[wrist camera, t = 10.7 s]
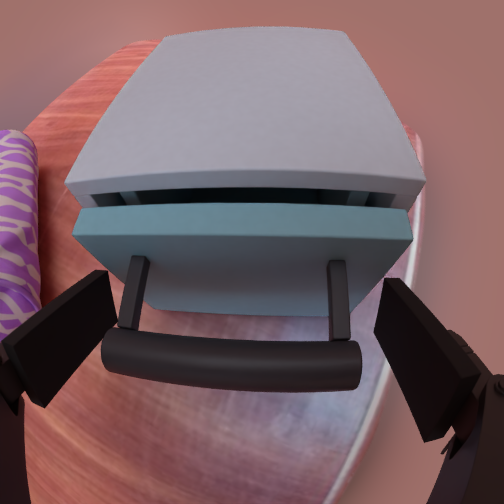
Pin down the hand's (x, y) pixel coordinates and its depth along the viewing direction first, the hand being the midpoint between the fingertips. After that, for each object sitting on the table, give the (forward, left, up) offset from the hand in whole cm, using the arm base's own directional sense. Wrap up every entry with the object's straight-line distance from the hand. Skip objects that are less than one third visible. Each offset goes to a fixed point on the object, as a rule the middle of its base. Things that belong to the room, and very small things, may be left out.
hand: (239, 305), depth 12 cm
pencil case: (+21, -11, -5) cm, 24 cm away
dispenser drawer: (-1, -5, -4) cm, 7 cm away
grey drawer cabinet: (-2, -10, -5) cm, 11 cm away
